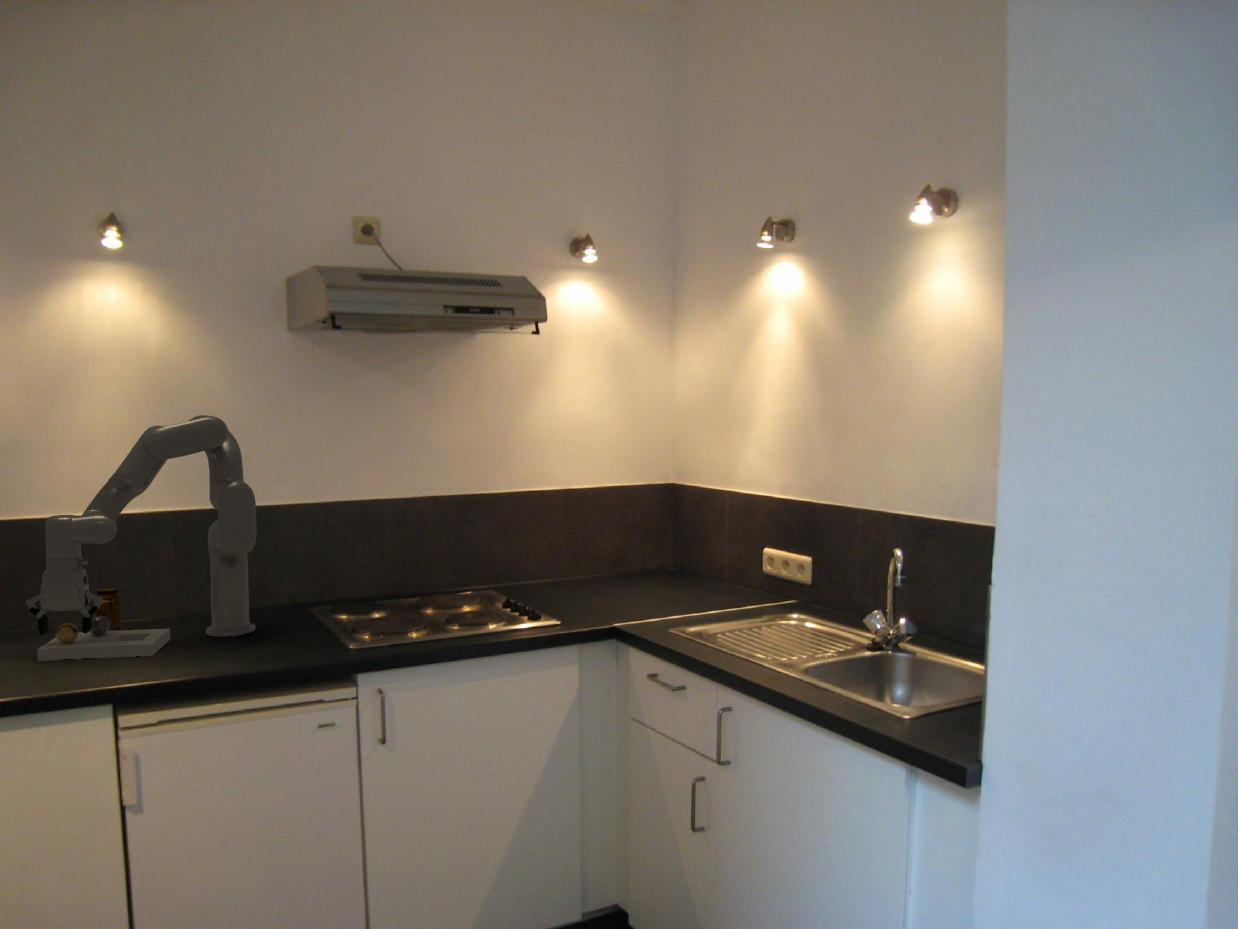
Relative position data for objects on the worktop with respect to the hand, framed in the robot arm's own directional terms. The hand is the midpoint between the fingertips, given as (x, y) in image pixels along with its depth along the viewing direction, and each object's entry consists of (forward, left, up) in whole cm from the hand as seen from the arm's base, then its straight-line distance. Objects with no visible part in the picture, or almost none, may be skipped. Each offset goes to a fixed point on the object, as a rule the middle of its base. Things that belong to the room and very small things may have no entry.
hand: (65, 632), depth 234 cm
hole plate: (-3, +8, -6) cm, 11 cm away
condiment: (-23, +3, -6) cm, 24 cm away
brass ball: (0, 0, 0) cm, 0 cm away
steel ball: (-7, +5, 0) cm, 9 cm away
